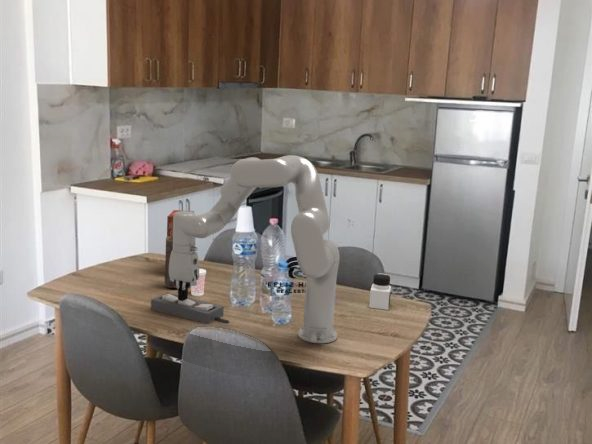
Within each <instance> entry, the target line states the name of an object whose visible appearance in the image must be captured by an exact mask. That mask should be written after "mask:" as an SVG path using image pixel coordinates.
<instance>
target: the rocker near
mask: <svg viewBox="0 0 592 444" xmlns="http://www.w3.org/2000/svg"><path fill="white" fill-rule="evenodd" d="M213 304H214V303H212V304H199V305H197V306H195V308H198V309H202V310H206V311H207V310H210V309H212V308H213Z"/></svg>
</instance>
